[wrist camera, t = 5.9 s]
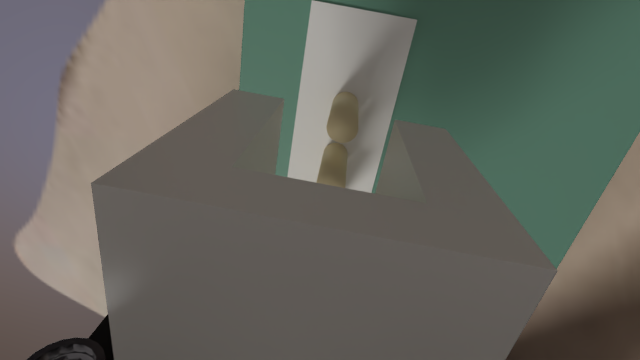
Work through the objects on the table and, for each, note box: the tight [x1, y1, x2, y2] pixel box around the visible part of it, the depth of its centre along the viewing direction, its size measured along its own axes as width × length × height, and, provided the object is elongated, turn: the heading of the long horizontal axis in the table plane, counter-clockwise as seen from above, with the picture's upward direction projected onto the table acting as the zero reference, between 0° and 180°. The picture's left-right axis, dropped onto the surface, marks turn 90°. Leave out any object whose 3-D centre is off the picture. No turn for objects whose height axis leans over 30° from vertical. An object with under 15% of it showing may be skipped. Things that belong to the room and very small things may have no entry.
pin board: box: [239, 0, 640, 269], centre depth 17 cm, size 20×18×5 cm
